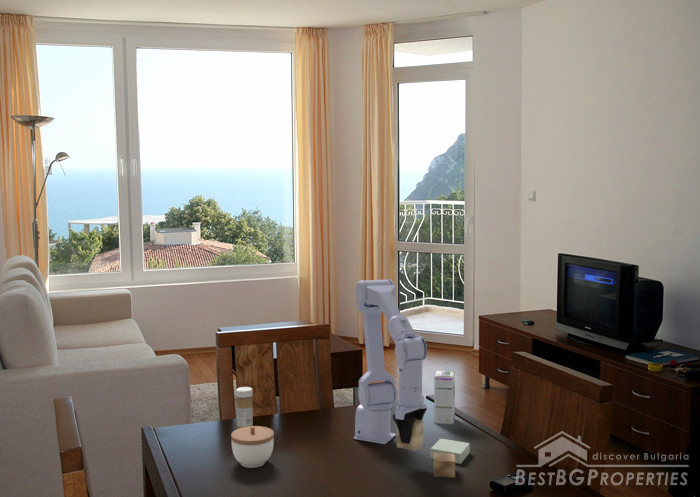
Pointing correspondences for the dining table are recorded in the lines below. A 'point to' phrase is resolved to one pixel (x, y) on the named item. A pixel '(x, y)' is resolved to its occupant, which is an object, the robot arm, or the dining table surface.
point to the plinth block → (451, 449)
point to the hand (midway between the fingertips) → (409, 439)
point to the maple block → (413, 437)
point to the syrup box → (444, 397)
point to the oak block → (444, 465)
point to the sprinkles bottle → (244, 407)
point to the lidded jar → (252, 445)
